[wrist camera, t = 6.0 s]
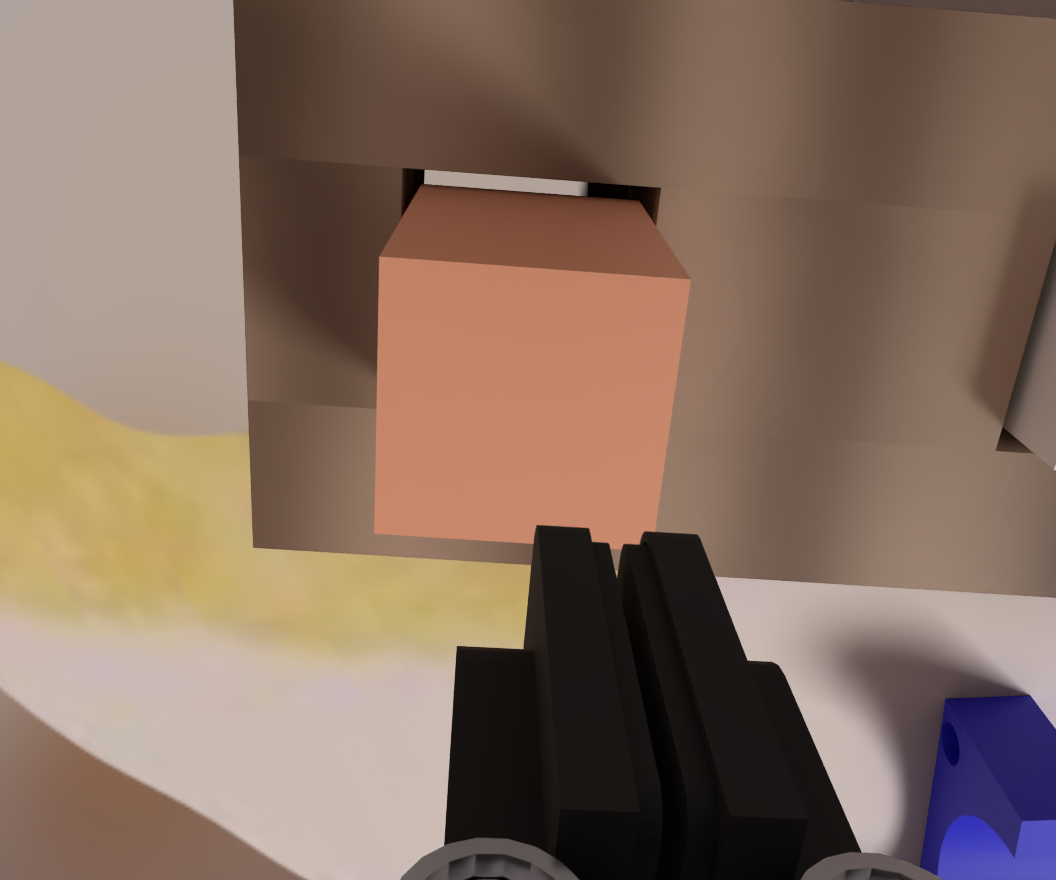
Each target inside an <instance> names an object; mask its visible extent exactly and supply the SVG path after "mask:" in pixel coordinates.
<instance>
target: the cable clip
mask: <svg viewBox="0 0 1056 880" xmlns="http://www.w3.org/2000/svg"><path fill="white" fill-rule="evenodd" d="M920 868H922V869H924V870H926V871H928V872H931V873H933V874H935V875H937V876H939V877H940V878H942V879H943V880H1056V729H1055V728H1054V726H1053V725H1052V724H1051V722H1050V721H1049V720H1048V718H1047V717H1046V716H1045V714H1044V713H1043V712H1042V710H1041V709H1040V708H1039V706H1038V705H1037V704H1036V702H1035V701H1034V700H1033V699H1032V697H1031V696H1030V695H1026V696H1001V697H975V698H949V699H945V705H944V712H943V719H942V725H941V732H940V738H939V745H938V751H937V758H936V765H935V771H934V778H933V784H932V791H931V797H930V804H929V811H928V817H927V824H926V830H925V837H924V844H923V850H922V857H921V863H920Z"/></svg>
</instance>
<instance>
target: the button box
mask: <svg viewBox="0 0 1056 880" xmlns="http://www.w3.org/2000/svg"><path fill="white" fill-rule="evenodd" d="M233 4H234V33H235V60H236V87H237V114H238V143H239V168H240V169H239V170H240V198H241V222H242V223H241V225H242V252H243V280H244V307H245V334H246V360H247V361H246V362H247V388H248V417H249V445H250V473H251V500H252V528H253V548H267V549H283V550H299V551H315V552H331V553H347V554H364V555H380V556H396V557H412V558H428V559H444V560H460V561H476V562H492V563H508V564H524V565H531V564H532V554H533V544H528V543H512V542H496V541H481V540H465V539H449V538H433V537H417V536H401V535H385V534H374V519H375V463H376V407H377V351H378V296H379V256H380V254H381V253H382V251H383V249H384V248H385V246H386V244H387V242H388V241H389V239H390V237H391V236H392V234H393V232H394V230H395V229H396V227H397V225H398V224H399V222H400V220H401V218H402V217H403V215H404V213H405V212H406V210H407V208H408V207H409V205H410V203H411V201H412V200H413V198H414V196H415V195H416V193H417V191H418V189H419V188H420V186H421V184H424V170H425V169H426V170H439V171H451V172H465V173H477V174H490V175H503V176H517V177H530V178H542V179H555V180H568V181H569V180H570V181H581V182H594V183H607V184H620V185H629V193H628V200H638V201H640V203H641V204H642V206H643V208H644V209H645V211H646V212H647V214H648V215H649V217H650V218H651V220H652V221H653V223H654V224H655V226H656V227H657V229H658V230H659V232H660V233H661V235H662V236H663V238H664V239H665V241H666V242H667V244H668V245H669V247H670V248H671V250H672V251H673V253H674V254H675V256H676V257H677V259H678V260H679V262H680V264H681V265H682V267H683V268H684V270H685V271H686V273H687V274H688V276H689V277H690V279H691V284H690V291H689V297H688V304H687V311H686V318H685V325H684V332H683V339H682V346H681V353H680V360H679V367H678V374H677V381H676V388H675V395H674V402H673V409H672V416H671V423H670V430H669V437H668V444H667V451H666V458H665V465H664V472H663V479H662V486H661V493H660V500H659V507H658V514H657V521H656V528H655V532H668V533H685V534H698V536H699V537H700V539H701V542H702V544H703V547H704V549H705V552H706V555H707V557H708V560H709V562H710V565H711V568H712V570H713V573H714V575H715V576H717V577H733V578H749V579H765V580H781V581H797V582H813V583H829V584H845V585H861V586H877V587H893V588H909V589H926V590H942V591H958V592H974V593H990V594H1006V595H1022V596H1038V597H1054V598H1056V470H1053V469H1052V468H1051V467H1050V466H1049V465H1047V464H1046V463H1045V462H1044V461H1043V460H1042V459H1040V458H1039V457H1038V456H1037V455H1036V454H1034V453H1033V452H1032V451H1031V450H1030V449H1028V448H1027V447H1026V446H1025V445H1024V444H1023V443H1021V442H1020V441H1019V440H1018V439H1017V438H1015V437H1014V436H1013V435H1012V434H1011V433H1009V432H1008V431H1007V430H1006V429H1005V428H1004V427H1002V426H1003V423H1004V419H1005V416H1006V412H1007V409H1008V405H1009V402H1010V398H1011V395H1012V391H1013V388H1014V384H1015V381H1016V377H1017V374H1018V370H1019V367H1020V363H1021V360H1022V356H1023V353H1024V349H1025V346H1026V342H1027V339H1028V335H1029V332H1030V328H1031V325H1032V321H1033V318H1034V314H1035V311H1036V307H1037V304H1038V300H1039V297H1040V293H1041V290H1042V286H1043V283H1044V279H1045V276H1046V272H1047V269H1048V265H1049V261H1050V258H1051V254H1052V251H1053V247H1054V244H1055V240H1056V19H1052V18H1041V17H1029V16H1017V15H1005V14H994V13H982V12H970V11H958V10H946V9H935V8H923V7H911V6H899V5H888V4H876V3H864V2H852V1H840V0H233ZM621 550H622V549H611V554H612V558H613V563H614V568H615V570H618V568H619V560H620V554H621Z"/></svg>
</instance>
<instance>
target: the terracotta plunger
mask: <svg viewBox="0 0 1056 880" xmlns="http://www.w3.org/2000/svg"><path fill="white" fill-rule="evenodd" d="M690 284H691V279H690V277H689V276H688V274H687V273H686V271H685V270H684V268H683V267H682V265H681V264H680V262H679V260H678V259H677V257H676V256H675V254H674V253H673V251H672V250H671V248H670V247H669V245H668V244H667V242H666V241H665V239H664V238H663V236H662V235H661V233H660V232H659V230H658V229H657V227H656V226H655V224H654V223H653V221H652V220H651V218H650V217H649V215H648V214H647V212H646V211H645V209H644V208H643V206H642V204H641V203H640V201H638V200H624V199H611V198H598V197H585V196H572V195H559V194H545V193H532V192H519V191H507V190H494V189H481V188H467V187H453V186H441V185H429V184H421V186H420V188H419V189H418V191H417V193H416V195H415V196H414V198H413V200H412V201H411V203H410V205H409V207H408V208H407V210H406V212H405V213H404V215H403V217H402V218H401V220H400V222H399V224H398V225H397V227H396V229H395V230H394V232H393V234H392V236H391V237H390V239H389V241H388V242H387V244H386V246H385V248H384V249H383V251H382V253H381V254H380V256H379V296H378V351H377V407H376V463H375V519H374V534H385V535H401V536H417V537H433V538H449V539H465V540H481V541H496V542H512V543H528V544H533V543H534V535H535V529H536V525H547V526H564V527H582V528H589V530H590V533H591V539H592V542H604V543H609V545H610V549H622V546H623V545H624V544H639V545H640V540H641V537H642V534H643V533H644V531H651V532H655V528H656V521H657V514H658V507H659V500H660V493H661V486H662V479H663V472H664V465H665V458H666V451H667V444H668V437H669V430H670V423H671V416H672V409H673V402H674V395H675V388H676V381H677V374H678V367H679V360H680V353H681V346H682V339H683V332H684V325H685V318H686V311H687V304H688V297H689V291H690Z"/></svg>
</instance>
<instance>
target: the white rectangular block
mask: <svg viewBox="0 0 1056 880" xmlns="http://www.w3.org/2000/svg"><path fill="white" fill-rule="evenodd" d="M1002 427H1004V428H1005V429H1006V430H1007V431H1008V432H1009V433H1011V434H1012V435H1013V436H1014V437H1015V438H1017V439H1018V440H1019V441H1020V442H1021V443H1023V444H1024V445H1025V446H1026V447H1027V448H1028V449H1030V450H1031V451H1032V452H1033V453H1034V454H1036V455H1037V456H1038V457H1039V458H1040V459H1042V460H1043V461H1044V462H1045V463H1046V464H1047V465H1049V466H1050V467H1051V468H1052V469H1053V470H1056V240H1055V244H1054V247H1053V251H1052V254H1051V258H1050V261H1049V265H1048V269H1047V272H1046V276H1045V279H1044V283H1043V286H1042V290H1041V293H1040V297H1039V300H1038V304H1037V307H1036V311H1035V314H1034V318H1033V321H1032V325H1031V328H1030V332H1029V335H1028V339H1027V342H1026V346H1025V349H1024V353H1023V356H1022V360H1021V363H1020V367H1019V370H1018V374H1017V377H1016V381H1015V384H1014V388H1013V391H1012V395H1011V398H1010V402H1009V405H1008V409H1007V412H1006V416H1005V419H1004V423H1003V426H1002Z"/></svg>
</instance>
